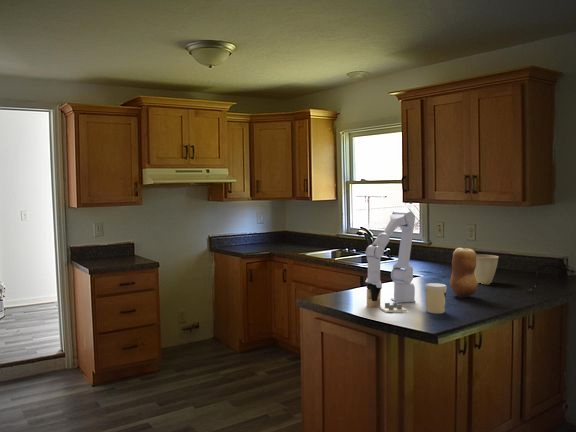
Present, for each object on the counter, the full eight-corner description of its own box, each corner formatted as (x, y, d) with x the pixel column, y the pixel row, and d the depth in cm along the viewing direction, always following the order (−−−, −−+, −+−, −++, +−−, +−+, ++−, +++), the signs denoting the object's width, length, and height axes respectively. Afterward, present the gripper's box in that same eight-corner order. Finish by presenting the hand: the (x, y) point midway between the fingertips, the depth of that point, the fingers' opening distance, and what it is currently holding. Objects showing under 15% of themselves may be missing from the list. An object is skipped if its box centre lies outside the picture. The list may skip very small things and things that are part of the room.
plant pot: (501, 286, 297) (501, 258, 296) (473, 285, 299) (474, 257, 298) (494, 281, 312) (494, 254, 311) (468, 280, 314) (468, 254, 313)
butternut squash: (482, 299, 260) (483, 249, 259) (456, 300, 258) (457, 250, 257) (468, 294, 274) (469, 246, 273) (443, 294, 272) (445, 246, 271)
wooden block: (378, 305, 246) (378, 288, 246) (380, 306, 244) (380, 289, 244) (366, 306, 245) (366, 289, 245) (368, 307, 243) (368, 290, 243)
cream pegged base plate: (400, 308, 242) (400, 301, 241) (406, 311, 235) (407, 305, 235) (379, 309, 240) (380, 302, 239) (385, 312, 233) (386, 306, 233)
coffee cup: (449, 313, 232) (450, 286, 231) (428, 314, 231) (429, 286, 230) (441, 308, 241) (442, 282, 240) (421, 309, 240) (422, 283, 240)
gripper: (360, 269, 250) (360, 297, 251) (371, 274, 236) (371, 304, 237) (374, 268, 252) (374, 296, 252) (386, 273, 237) (385, 303, 238)
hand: (373, 300), depth 245 cm, fingers closed on wooden block, 2 cm apart
